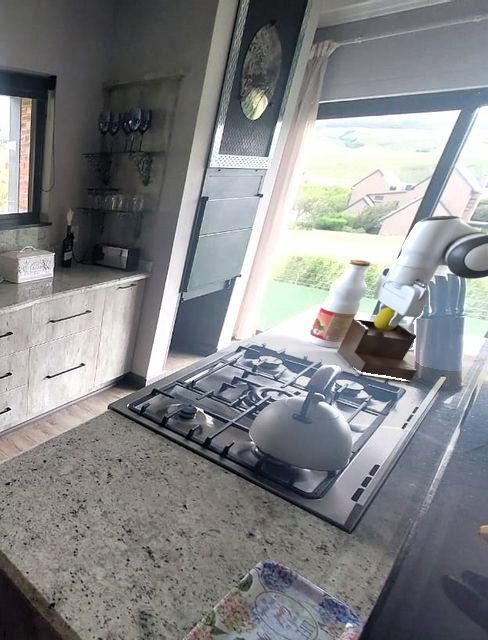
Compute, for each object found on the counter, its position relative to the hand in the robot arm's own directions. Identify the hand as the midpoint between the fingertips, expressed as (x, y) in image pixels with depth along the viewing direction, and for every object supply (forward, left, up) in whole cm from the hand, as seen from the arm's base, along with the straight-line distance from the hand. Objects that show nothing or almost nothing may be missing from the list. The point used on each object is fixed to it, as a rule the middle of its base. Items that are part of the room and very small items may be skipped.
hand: (386, 321), depth 121 cm
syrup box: (-16, -19, -13) cm, 28 cm away
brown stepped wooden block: (0, +4, -13) cm, 14 cm away
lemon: (0, 0, -3) cm, 3 cm away
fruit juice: (+8, -12, -13) cm, 20 cm away
